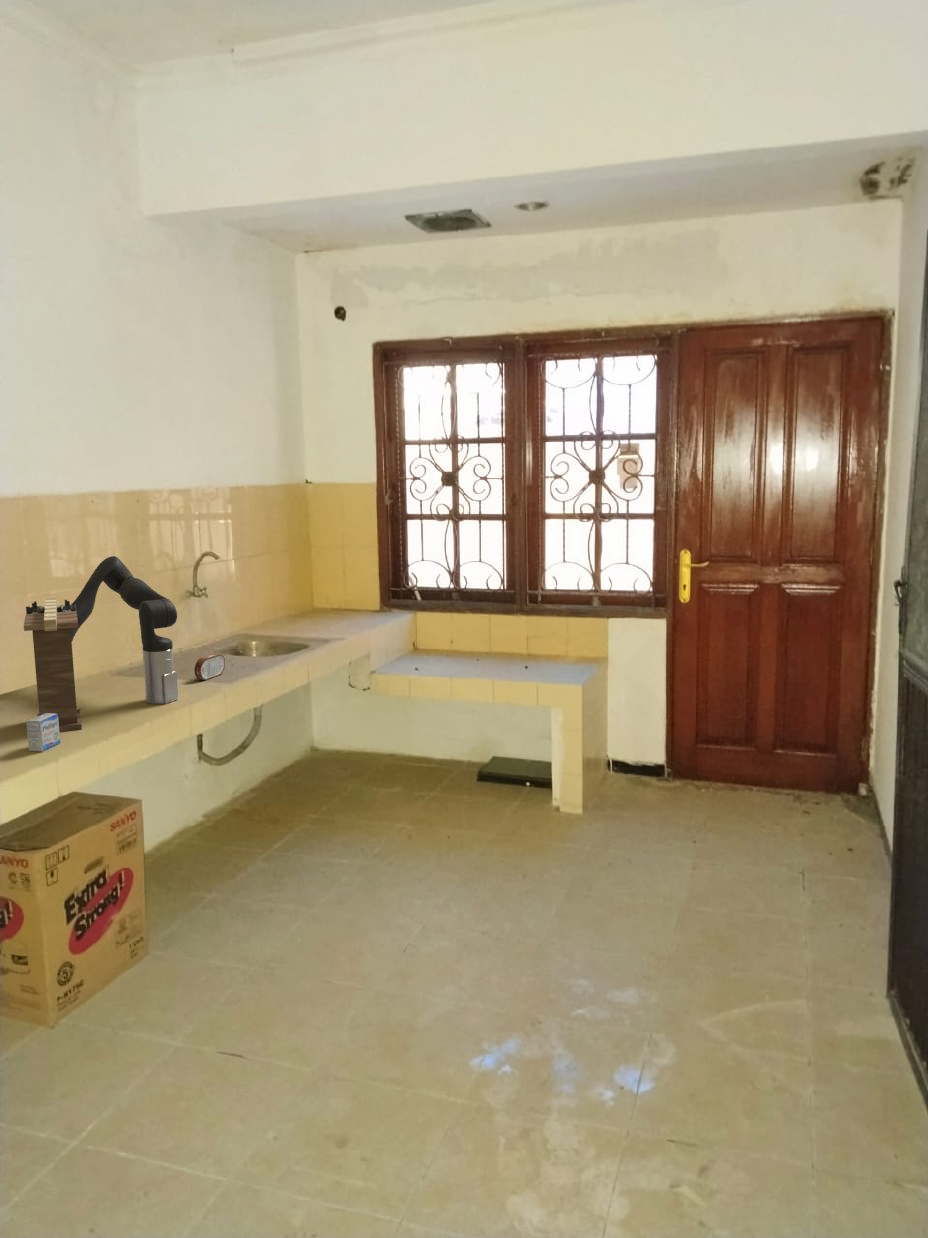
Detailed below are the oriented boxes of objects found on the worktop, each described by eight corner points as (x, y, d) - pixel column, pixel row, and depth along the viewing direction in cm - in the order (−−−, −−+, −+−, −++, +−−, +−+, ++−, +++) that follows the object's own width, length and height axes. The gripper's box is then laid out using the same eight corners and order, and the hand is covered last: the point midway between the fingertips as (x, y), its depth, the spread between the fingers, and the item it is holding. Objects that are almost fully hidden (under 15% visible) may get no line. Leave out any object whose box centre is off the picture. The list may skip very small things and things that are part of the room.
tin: (220, 672, 335) (219, 650, 333) (227, 673, 334) (226, 651, 332) (194, 682, 321) (192, 658, 320) (201, 683, 320) (200, 659, 319)
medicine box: (43, 752, 245) (40, 721, 244) (28, 751, 246) (25, 720, 244) (60, 743, 253) (58, 713, 251) (46, 742, 253) (43, 712, 252)
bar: (46, 608, 282) (45, 598, 281) (56, 607, 283) (56, 598, 283) (44, 631, 246) (43, 620, 245) (56, 630, 247) (55, 619, 247)
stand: (34, 717, 277) (25, 614, 272) (83, 712, 283) (76, 611, 277) (32, 735, 259) (23, 625, 254) (85, 729, 265) (77, 622, 259)
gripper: (27, 612, 289) (24, 593, 275) (76, 609, 295) (75, 590, 281) (29, 634, 287) (25, 616, 273) (78, 631, 292) (77, 613, 278)
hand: (50, 603), depth 277 cm, fingers open, 8 cm apart
